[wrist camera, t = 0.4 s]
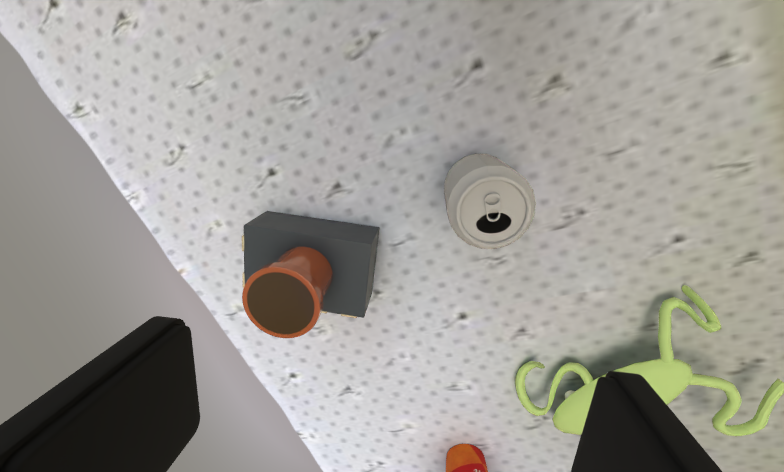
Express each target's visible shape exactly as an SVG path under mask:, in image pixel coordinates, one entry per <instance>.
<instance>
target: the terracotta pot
mask: <svg viewBox="0 0 784 472" xmlns="http://www.w3.org/2000/svg"><path fill="white" fill-rule="evenodd" d="M332 278H333V273H332V268H331V266H330V263H329V262H328V260H327V259H326V258H325V257H324V255H322V254H321V253H320V252H318V251H317V250H315V249H312V248H309V247H295V248H292V249H290V250H288V251H287V252H285V253H284V254H283V255H282V256H281V257H280V258H279V259H278V260H277V261H276V262H275V263H270V264H267V265H265V266H263V267H261V268H260V269H258V270H257V271H256V272H255V273H254V274H253V275H252V276H251V277H250V278H249V279H248V280H247V282H246V284H245V286H244V289H243V296H242V299H243V305H244V309H245V311H246V313H247V315H248V317H249V318H250V320H251V321H252V322H253V323H254V324H255V325H256V326H257V327H258V328H259V329H261V330H262V331H264V332H265V333H267V334H270V335H272V336H275V337H280V338H294V337H298V336H301V335H303V334H305V333H307V332H308V331H309V330H311V329H312V328H313V327H314V325H315V324H316V322H317V320H318V319H319V317H320V315H321V312H322V309H323V297H324V296H325V294H326V292H327V291H328V289H329V287H330V285H331V283H332Z"/></svg>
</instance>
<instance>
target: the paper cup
mask: <svg viewBox="0 0 784 472" xmlns="http://www.w3.org/2000/svg"><path fill="white" fill-rule="evenodd" d="M446 472H488V470H487V466H486V462H485V458H484V455H483V453H482V451H481V450H480V449H479V448H477V447H475V446H473V445H470V444H459V445H456V446H454V447H452V448H451V449H450V450H449V451H448V453H447V457H446Z"/></svg>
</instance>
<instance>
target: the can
mask: <svg viewBox="0 0 784 472" xmlns="http://www.w3.org/2000/svg"><path fill="white" fill-rule="evenodd" d="M444 195H445V201H446V208H447V214H448V218H449V221H450V225H451V227H452V229H453V230H454V231H455V233H456V234H457V236H458V237H459V238H461V239H462V240H463V241H465V242H466V243H467V244H469V245H472V246H475V247H478V248H481V249H496V248H500V247H504V246H507V245H509V244H511V243H512V242H514V241H516V240H518V239H519V238H520V237H521V236H522V235H523V234H524V233H525V232H526V231H527V229H528V228H529V226H530V224H531V222H532V220H533V218H534V213H535V205H536V202H535V197H534V193H533V189H532V188H531V186H530V185H529V183H528V181H527V180H526V179H525V178H524V177H523V176H522V175H520V174H519V173H518V172H517V171H515V170H514V169H512V168H511V167H510V166H508V165H507V164H505V163H504V162H502V161H501V160H500V159H498V158H497V157H494V156H491V155H488V154H473V155H469V156H466V157H464V158H462V159H461V160H459V161H458V162H456V163H455V164H454V165H453V167H452V168H451V169H450V171H449V172H448V174H447V177H446V180H445V185H444Z"/></svg>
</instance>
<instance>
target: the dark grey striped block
mask: <svg viewBox="0 0 784 472" xmlns="http://www.w3.org/2000/svg"><path fill="white" fill-rule="evenodd" d="M378 235H379V227H372V226H365V225H359V224H352V223H345V222H338V221H331V220H324V219H317V218H310V217H304V216H297V215H290V214H283V213H276V212H269V211H267V212H265V213H263V214H262V215H260V216H258V217H257V218H255V219H253V220H252V221H250V222H248V223H247V224H245V225H244V235H243V236H242V251H244V272H243V287H244V286H245V284H246V282H247V280H248V279H249V278H250V277H251V276H252V275H253V274H254V273H255V272H256V271H257V270H258V269H260V268H261V267H263V266H265V265H267V264H270V263H275V262H276V261H277V260H278V259H279V258H280V257H281V256H282V255H283V254H284V253H285V252H287V251H288V250H290V249H292V248H295V247H309V248H312V249H315V250H317V251H318V252H320V253H321V254H322V255H324V257H325V258H326V259H327V260H328V262H329V263H330V266H331V268H332V273H333V278H332V283H331V285H330V287H329V289H328V291H327V292H326V294H325V296H324V297H323V309H322V312H321V313H327V312H331V313H337V314H341V316H346V317H353V318H357V317H362V318H364V316H365V313H366V310H367V307H368V304H369V300H370V297H371V294H372V288H373V279H374V270H375V262H376V253H377V244H378Z"/></svg>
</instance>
